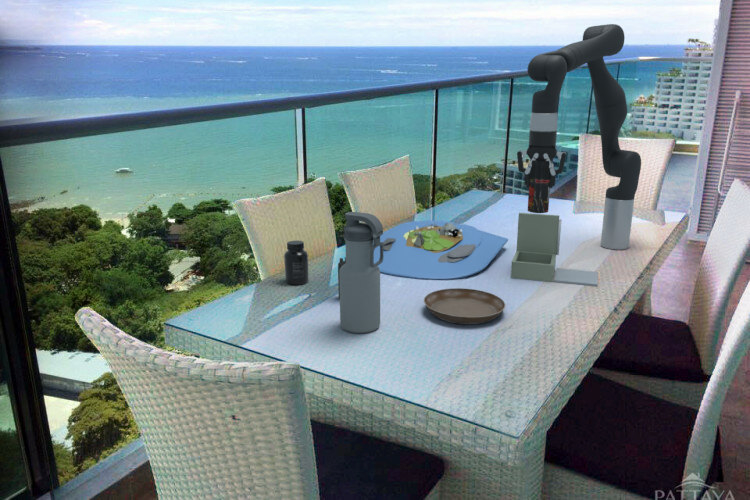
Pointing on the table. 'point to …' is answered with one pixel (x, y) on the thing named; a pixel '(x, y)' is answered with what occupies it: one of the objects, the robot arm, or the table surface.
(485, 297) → the plant saucer
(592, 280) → the mat
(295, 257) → the supplement bottle
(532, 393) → the table surface
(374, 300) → the water bottle
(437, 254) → the island diorama
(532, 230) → the case
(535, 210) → the deodorant
